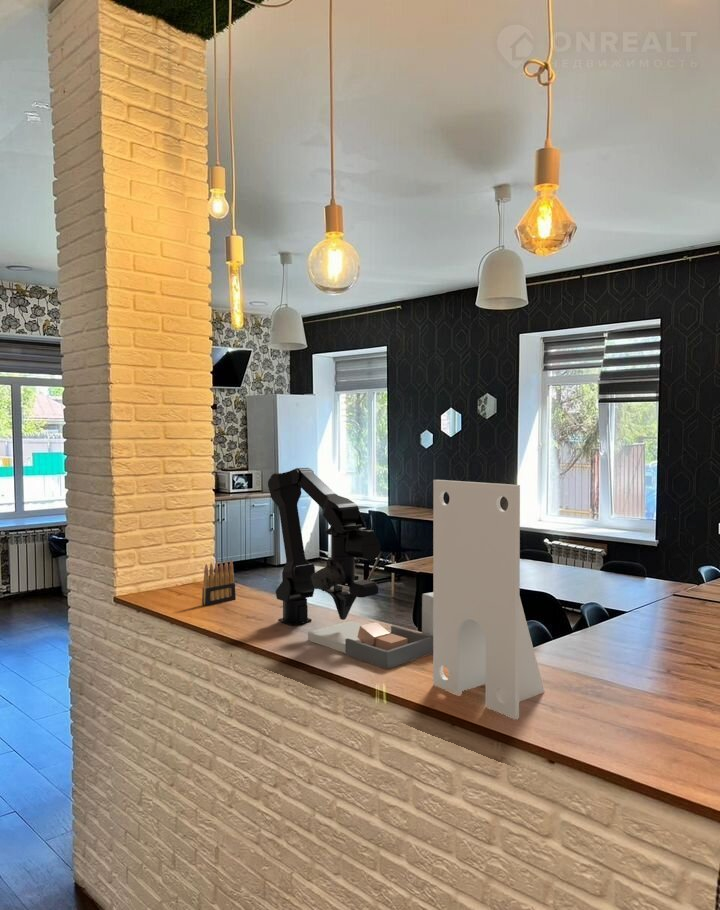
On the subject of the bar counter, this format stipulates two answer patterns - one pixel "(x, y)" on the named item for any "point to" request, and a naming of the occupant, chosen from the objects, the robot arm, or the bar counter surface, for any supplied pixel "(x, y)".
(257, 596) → the bar counter surface
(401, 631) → the tray
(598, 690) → the bar counter surface
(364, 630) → the tile rear
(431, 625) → the skincare box
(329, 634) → the plate
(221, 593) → the ammunition clip
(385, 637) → the tile front
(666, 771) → the bar counter surface
